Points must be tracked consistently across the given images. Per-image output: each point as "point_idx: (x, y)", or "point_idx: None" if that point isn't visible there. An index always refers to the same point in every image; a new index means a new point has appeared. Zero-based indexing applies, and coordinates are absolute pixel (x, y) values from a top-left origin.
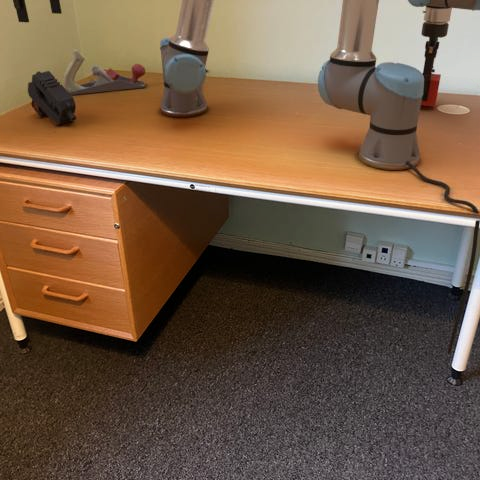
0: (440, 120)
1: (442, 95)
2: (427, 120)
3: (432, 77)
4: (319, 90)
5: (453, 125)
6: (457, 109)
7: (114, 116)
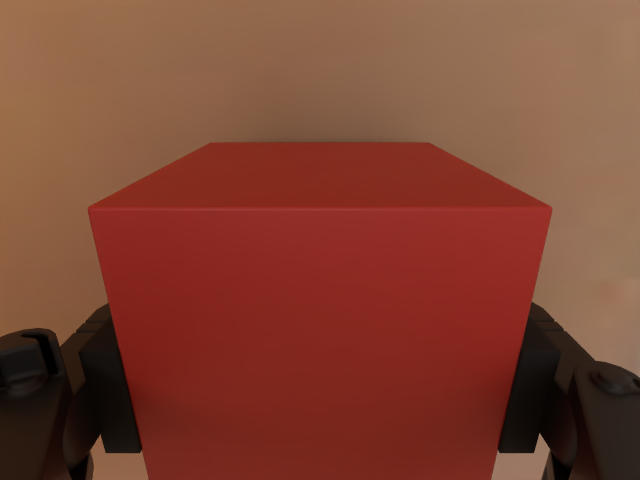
0: None
1: (615, 343)
2: (36, 287)
3: (295, 461)
4: None
5: None
6: None
7: None
